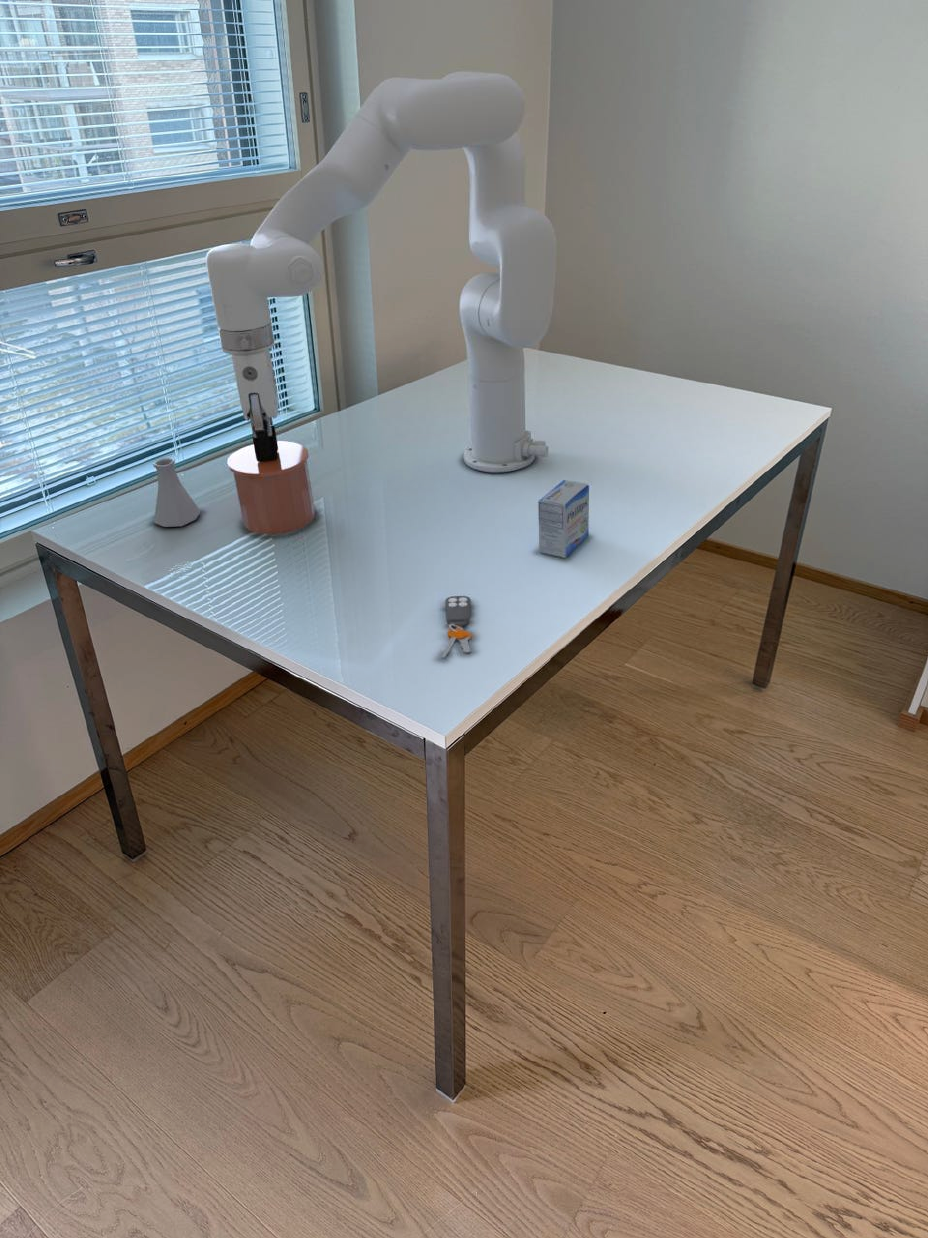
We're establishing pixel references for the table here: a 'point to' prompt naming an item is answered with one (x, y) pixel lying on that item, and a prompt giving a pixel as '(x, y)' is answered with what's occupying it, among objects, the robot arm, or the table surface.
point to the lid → (287, 461)
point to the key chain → (458, 621)
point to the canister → (276, 501)
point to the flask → (172, 497)
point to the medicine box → (563, 518)
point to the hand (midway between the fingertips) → (267, 454)
